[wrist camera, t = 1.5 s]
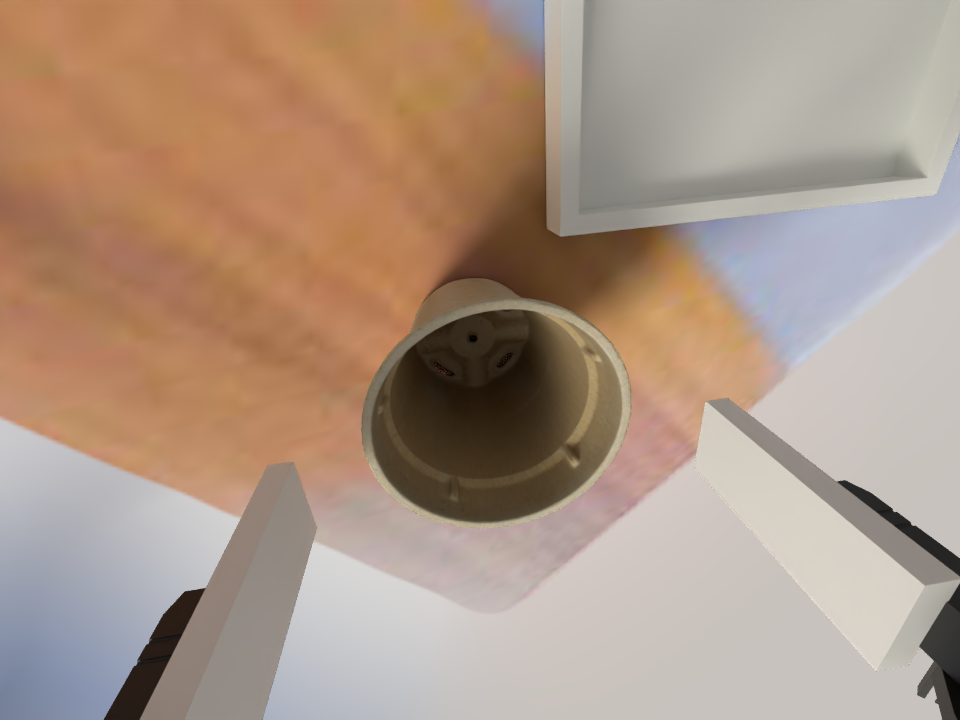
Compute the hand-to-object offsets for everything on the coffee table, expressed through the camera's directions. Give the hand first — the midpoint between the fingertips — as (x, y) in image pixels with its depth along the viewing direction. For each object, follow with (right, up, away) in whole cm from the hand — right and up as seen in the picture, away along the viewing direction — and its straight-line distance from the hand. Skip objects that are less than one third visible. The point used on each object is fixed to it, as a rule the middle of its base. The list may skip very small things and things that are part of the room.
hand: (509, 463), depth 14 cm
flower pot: (-1, +5, +9) cm, 10 cm away
